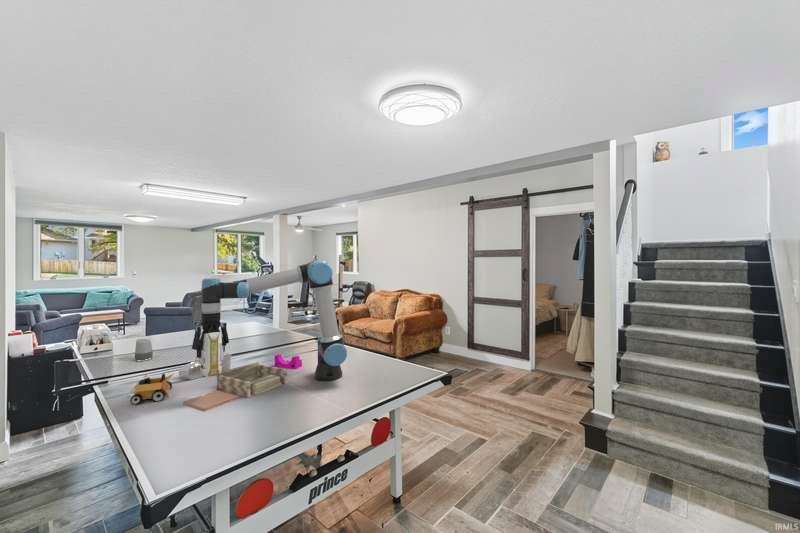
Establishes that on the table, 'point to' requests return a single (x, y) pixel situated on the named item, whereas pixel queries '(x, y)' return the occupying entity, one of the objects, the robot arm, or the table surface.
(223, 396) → the pad
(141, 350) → the smart speaker
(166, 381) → the yellow toy car
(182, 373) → the vr headset
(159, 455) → the table surface
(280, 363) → the toy block
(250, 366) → the birch rack
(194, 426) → the table surface
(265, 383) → the offcut stack
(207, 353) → the juice carton
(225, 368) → the teacup
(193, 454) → the table surface
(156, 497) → the table surface
